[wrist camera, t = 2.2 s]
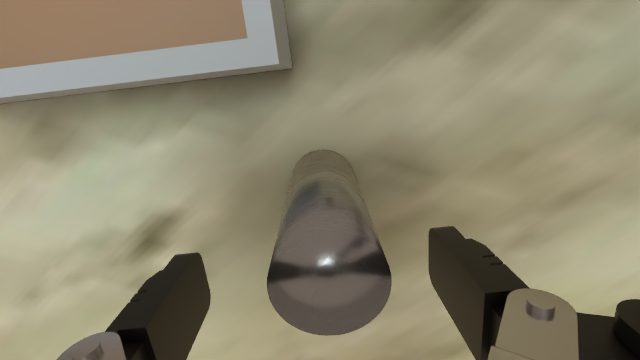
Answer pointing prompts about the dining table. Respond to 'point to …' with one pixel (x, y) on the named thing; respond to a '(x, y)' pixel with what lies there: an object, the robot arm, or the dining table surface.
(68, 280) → the dining table surface
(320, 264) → the peg
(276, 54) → the bore box
